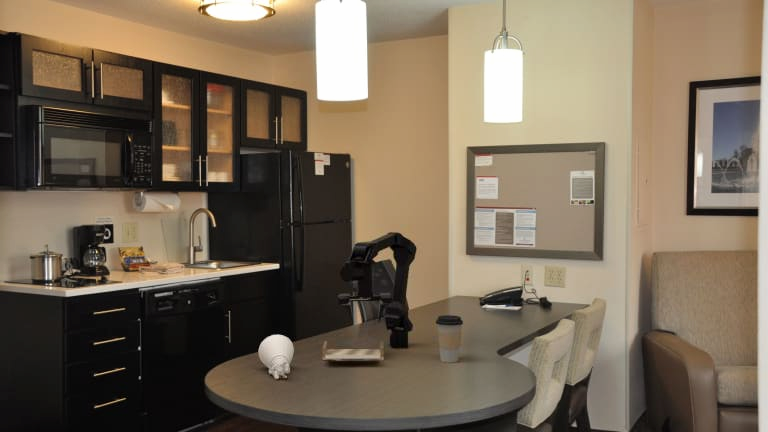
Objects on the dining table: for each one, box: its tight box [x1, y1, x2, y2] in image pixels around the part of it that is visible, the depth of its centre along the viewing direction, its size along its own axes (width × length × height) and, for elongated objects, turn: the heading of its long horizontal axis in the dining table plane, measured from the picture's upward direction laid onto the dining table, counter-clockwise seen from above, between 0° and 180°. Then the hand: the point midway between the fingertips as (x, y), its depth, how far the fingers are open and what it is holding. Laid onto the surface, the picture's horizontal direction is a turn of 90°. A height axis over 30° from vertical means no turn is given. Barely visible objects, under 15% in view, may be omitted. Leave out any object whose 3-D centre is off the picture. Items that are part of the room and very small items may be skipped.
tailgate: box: [325, 355, 380, 361], centre depth 242 cm, size 18×2×9 cm
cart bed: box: [321, 340, 385, 361], centre depth 254 cm, size 21×12×4 cm, turn 91°
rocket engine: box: [258, 334, 295, 380], centre depth 229 cm, size 12×12×18 cm
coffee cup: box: [435, 314, 464, 363], centre depth 248 cm, size 9×9×15 cm
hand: (365, 322), depth 253 cm, fingers open, 9 cm apart
